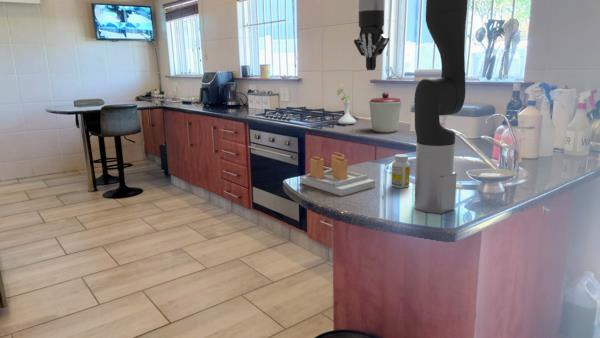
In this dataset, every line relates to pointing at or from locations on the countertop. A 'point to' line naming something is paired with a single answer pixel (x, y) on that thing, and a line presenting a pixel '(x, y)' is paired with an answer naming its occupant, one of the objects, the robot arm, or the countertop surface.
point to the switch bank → (340, 183)
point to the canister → (385, 113)
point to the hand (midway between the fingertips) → (370, 70)
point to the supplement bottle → (400, 171)
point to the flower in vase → (346, 117)
